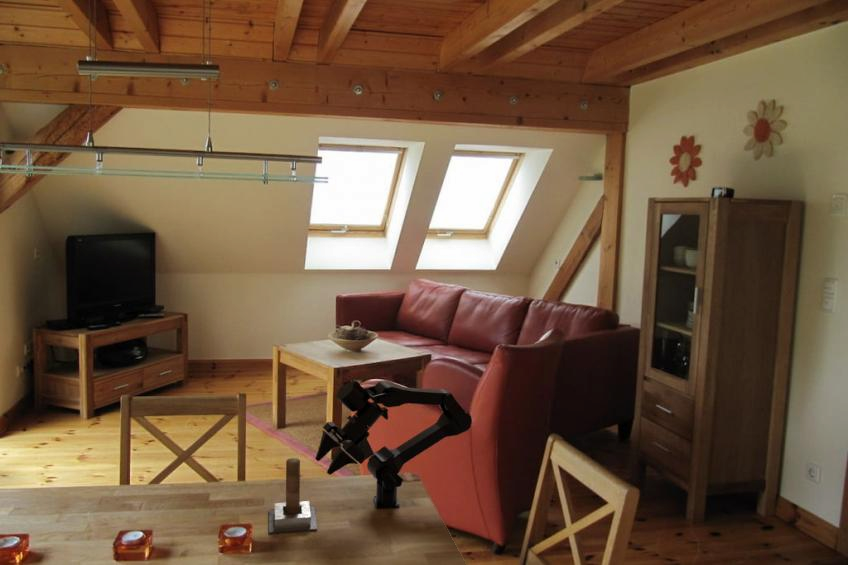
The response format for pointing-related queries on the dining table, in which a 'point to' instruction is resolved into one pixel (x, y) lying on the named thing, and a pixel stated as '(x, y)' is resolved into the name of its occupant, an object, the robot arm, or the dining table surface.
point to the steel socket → (292, 519)
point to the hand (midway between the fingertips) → (322, 466)
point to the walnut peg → (292, 486)
